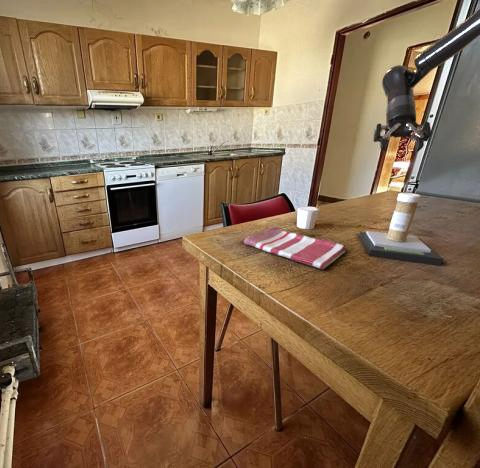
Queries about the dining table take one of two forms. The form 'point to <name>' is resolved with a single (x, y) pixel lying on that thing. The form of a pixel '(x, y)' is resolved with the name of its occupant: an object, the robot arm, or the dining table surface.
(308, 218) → the white cup
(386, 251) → the scale
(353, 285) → the dining table surface
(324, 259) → the dish towel
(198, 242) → the dining table surface
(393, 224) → the sprinkles bottle
